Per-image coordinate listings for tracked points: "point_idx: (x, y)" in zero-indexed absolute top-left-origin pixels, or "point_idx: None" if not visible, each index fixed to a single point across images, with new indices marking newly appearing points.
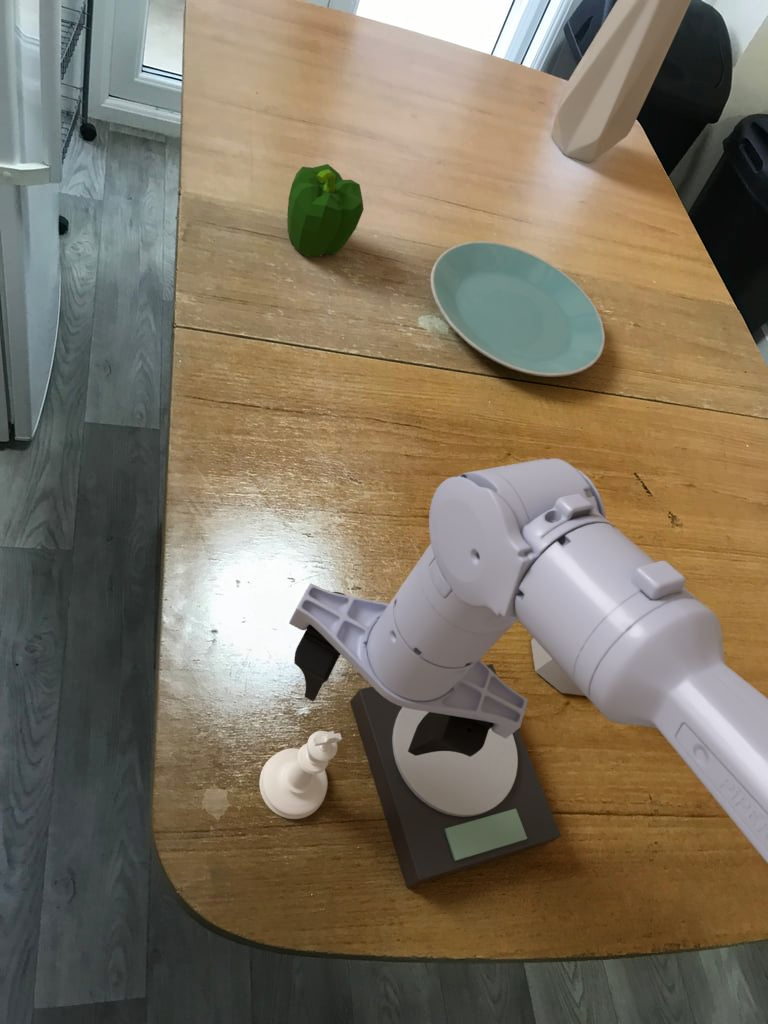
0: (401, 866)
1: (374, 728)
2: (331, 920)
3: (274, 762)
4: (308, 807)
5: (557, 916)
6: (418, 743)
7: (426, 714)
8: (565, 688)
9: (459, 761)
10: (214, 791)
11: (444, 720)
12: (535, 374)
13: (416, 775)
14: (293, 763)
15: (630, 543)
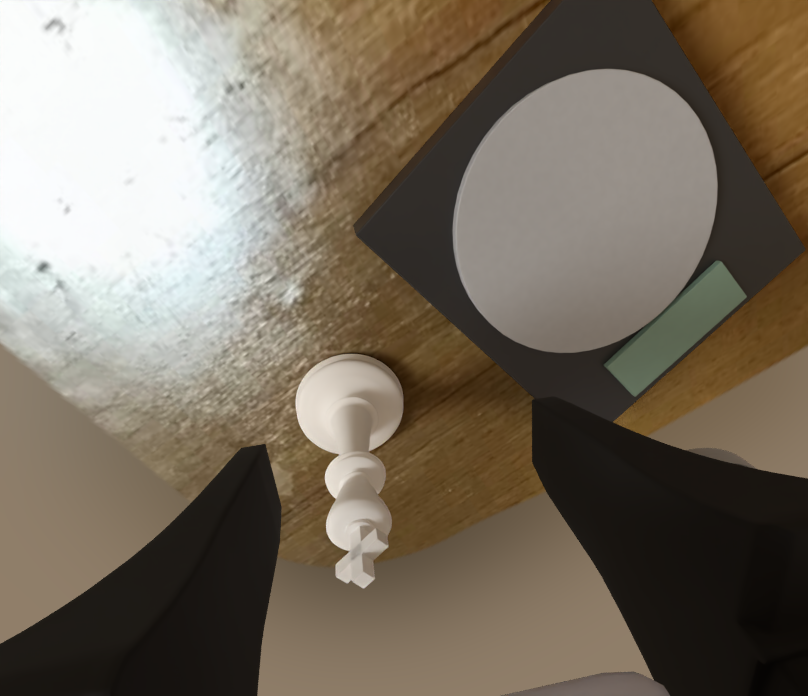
0: None
1: (423, 289)
2: (486, 497)
3: (305, 411)
4: (390, 431)
5: (778, 324)
6: (566, 511)
7: (555, 414)
8: None
9: (601, 251)
10: None
11: (686, 678)
12: None
13: (532, 326)
14: (332, 412)
15: None
